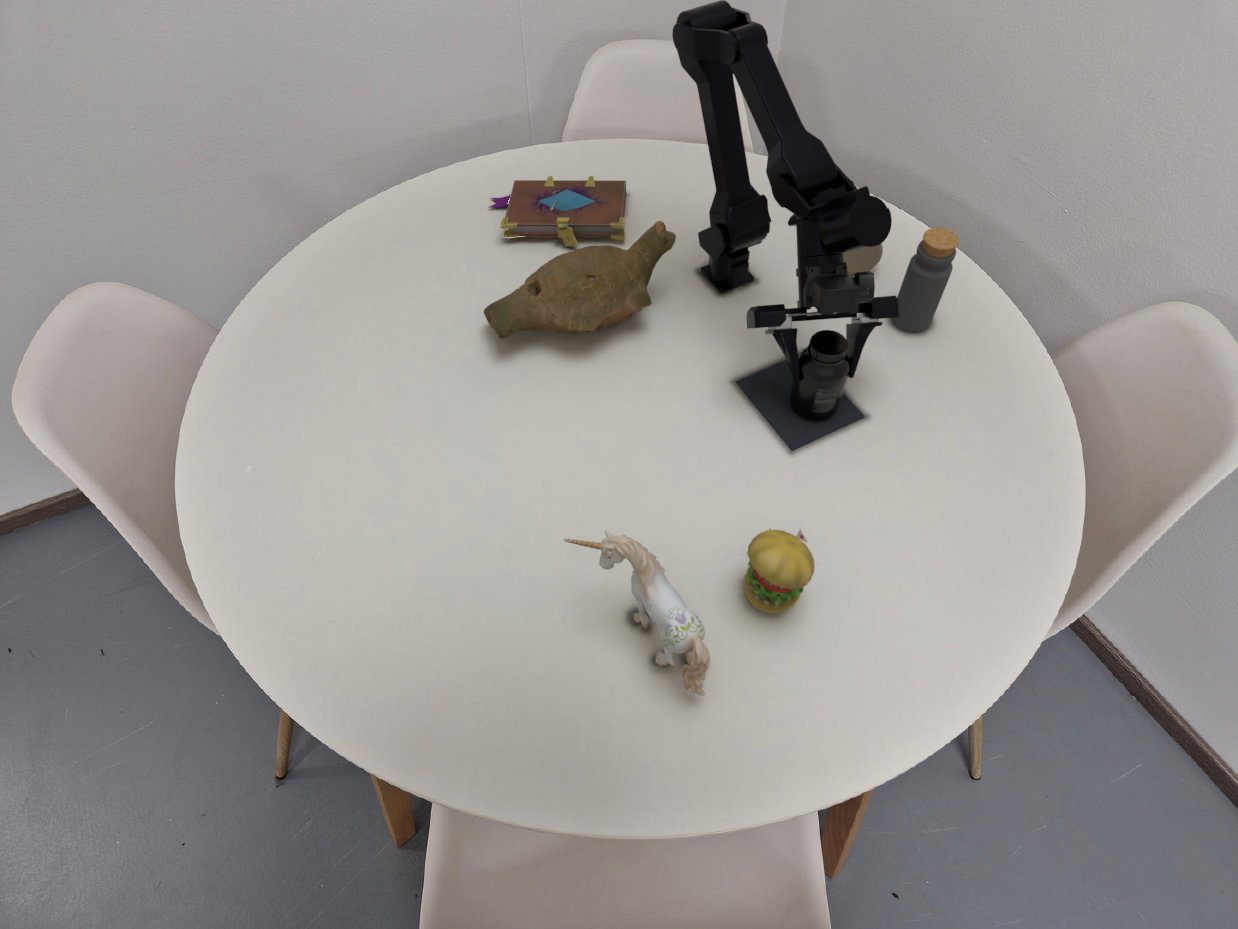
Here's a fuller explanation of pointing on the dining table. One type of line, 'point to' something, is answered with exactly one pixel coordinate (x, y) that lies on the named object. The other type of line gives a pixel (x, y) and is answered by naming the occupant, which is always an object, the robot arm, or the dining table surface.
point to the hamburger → (777, 570)
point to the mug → (863, 259)
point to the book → (565, 209)
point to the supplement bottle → (821, 376)
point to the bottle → (926, 279)
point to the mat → (773, 402)
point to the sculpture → (583, 288)
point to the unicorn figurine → (659, 606)
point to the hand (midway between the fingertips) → (823, 379)
